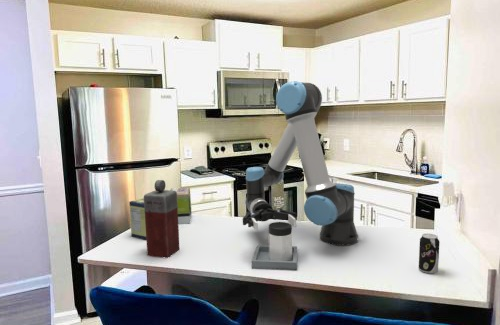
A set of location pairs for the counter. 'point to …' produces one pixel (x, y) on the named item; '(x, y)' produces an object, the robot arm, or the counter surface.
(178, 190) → the tea box
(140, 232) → the protein box
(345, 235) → the robot arm
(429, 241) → the beverage can
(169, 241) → the red square bottle
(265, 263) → the tray
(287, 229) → the jar
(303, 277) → the counter surface
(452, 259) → the counter surface
